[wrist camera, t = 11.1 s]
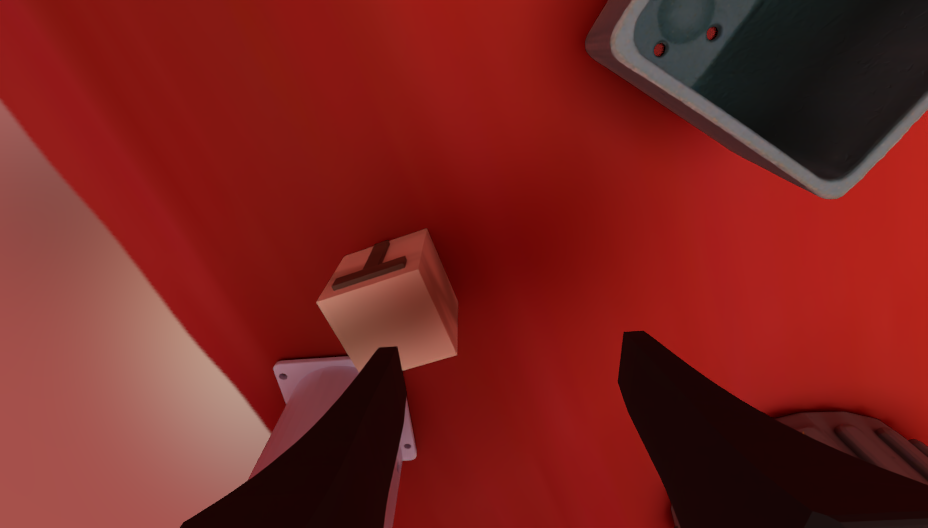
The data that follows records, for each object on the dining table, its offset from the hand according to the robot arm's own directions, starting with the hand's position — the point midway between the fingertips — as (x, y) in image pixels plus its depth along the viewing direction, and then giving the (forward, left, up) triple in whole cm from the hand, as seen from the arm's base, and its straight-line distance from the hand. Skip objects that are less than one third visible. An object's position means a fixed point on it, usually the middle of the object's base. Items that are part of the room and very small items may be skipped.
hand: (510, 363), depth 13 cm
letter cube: (-2, +5, -11) cm, 12 cm away
